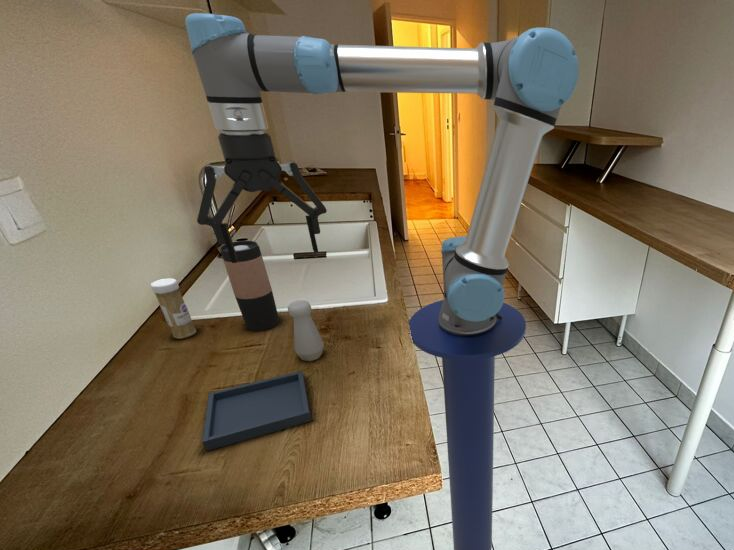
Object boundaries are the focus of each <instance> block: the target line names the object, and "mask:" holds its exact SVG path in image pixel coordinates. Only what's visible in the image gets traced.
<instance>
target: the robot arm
mask: <svg viewBox="0 0 734 550" xmlns="http://www.w3.org/2000/svg"><path fill="white" fill-rule="evenodd" d="M184 23H185V28H186V32H187V36H188V40H189V45H190V52H191V54H192V56H193V59H194V63H195V65H196V68H197V72H198V75H199V78H200V81H201V85H202V87H203V91H204V94H205V98H206V101H207V106H208V109H209V112H210V116H211V118H212V122H213V126H214V128H215V130H217V131H218V132H220V133H219V134H218V136H217V139H218V142H219V145H220V146H219V147H220V149H221V152H222V157H223V158H224V166H223V165H213V164H211V163H207V164H206V165H205V167H204V174H205V180H206V182H205V186H204V190H203V195H202V198H201V202H200V206H199V211H198V216H197V219H196V221H197V224H199V225H200V226H203V225H204V226H209V227H211V228H212V230H213V232H214V235H215V238H216V241H217V243H218V244H219V245H220V246H223V245H225V244H226V246H227V249H228V252H229V255H230V258H231V261H232V263H237V255H236V252H235V248H234V245H233V242H234V241H233V239H232V237H231V233H230V230H229V227H228V223H227V222H224V219H226V216H227V215H228V213H229V211H230V210H231V208H232V206H234V204H235V202H236V201H237V199H238V197H239V196H240V195H241V193H242V191H243V190H244V191H246V192H249V193H256V192H259V191H260V192H270V191H271V190H272V189H273V190H274V189H275V190H276V191H277V192H279V193H281V194H282V195H283V196H285V198H287V199H288V200H289V201H290V202H292V203H293V204H294V205H295V206H297V207H298V208H299V209H301V210H302V211H303V212H304V213H306V214H307V215H305V220H306V225H307V229H308V230H307V231H308V234H309V239H310V242H311V247H312V251H313V253H314V254H316V253H319V248H318V244H317V239H316V235H320V234H321V227H320V222H319V216H320V215H323V214H326V213H327V211H328V209H327V207H326V206H325V204H323V202H322V200H321V199H320V198H319V197H318V196H317V194H316V193H315V191H314V189H312V188H311V186H310V184H309V183H308V182H307V181H306V180H305V178H304V177H303V176H302V174H301V172H300V169H299V166H298V164H297V162H296V161H295V160H290V161H289V162H286V163H285V162H284V163H279V162H278V160H277V157H276V152H275V149H274V144H273V140H272V137H271V135H270V134H269V133H268V132H266V131H267V130H268V129H269V124H268V119H267V115H266V110H265V107H264V103H263V98H262V96H261V92H268V93H269V92H279V93H295V94H296V93H298V94H312V95H322V94H333V93H395V94H397V93H399V94H403V93H405V94H461V95H462V94H469V95H470V94H471V95H472V94H474V95H477V96H479V98H480V99H481V100H489V101H490V100H491V101H494V102H493V109H494V112H495V114H496V116H497V119H498V120H497V124H496V127H495V130H494V135H493V139H492V142H491V146H490V149H489V153H488V158H487V161H486V165H485V168H484V172H483V175H482V179H481V183H480V187H479V190H478V194H477V198H476V200H475V201H476V202H475V205H474V209H473V213H472V216H471V220H470V224H469V227H468V230H467V235H466V236H464V235H463V236H453V237H449V238H446V239H444V240H443V241H442V243H441V250H440V253H441V264H442V280H443V281H442V282H443V299H442V300H443V303H442V306H441V310H440V313H439V317H438V322H439V327H440V329H441V330H442V331H444V332H445V333H447V334H449V335H453V336H457V337H476V336H481V335H484V334H486V333H489V332H490V331H492V330H493V329H494V328H495V326H496V318H498V319H499V320H501V319H502V316H500V315H498V314H497V312H498V311H499V310H500V309H501V307H502V305H503V303H505V288H504V287H503V286H504V282H505V279H506V276H507V272H508V270H509V266H510V261H509V260H508V258H507V256H506V252H507V249H508V246H509V243H510V240H511V238H512V233H513V230H514V227H515V224H516V221H517V218H518V214H519V213H520V212H519V211H520V208H521V205H522V203H523V199H524V195H525V192H526V189H527V186H528V183H529V180H530V177H531V174H532V170H533V168H534V165H535V161H536V158H537V156H538V152H539V148H540V147H541V143H542V140H543V136H544V135H546V134H547V133H548V132H550V131H552V130H553V129H555V127H556V124H557V123H556V122H557V120H558V116H559V114H560V112H561V107H562V106H564V105H565V104H566V103H567V102H568V101H569V99H571V97H572V95H573V94H574V92H575V90H576V87H577V84H578V80H579V74H580V67H579V66H580V65H579V59H578V55H577V53H576V50H575V47H574V46H573V44H572V42H571V41H570V39H569V38H567V36H566V35H565V34H564V33H562V32H560V31H559V30H557V29H554V28H550V27H532V28H529V29H527V30H525V31H524V32H522V33H521V34H520V35H517V36H515V37H513V38H511V39H507V40H503V41H495V42H484V41H483V42H479V44H478V45H477V46H476V47H475V48H473V47H472V48H470V47H469V48H468V47H467V48H466V47H436V46H435V47H434V46H433V47H429V46H399V45H398V46H397V45H367V44H366V45H365V44H364V45H361V44H333V43H330V42H329V41H327V39H324V38H317V37H311V36H307V35H301V36H292V35H291V36H290V35H265V34H264V35H263V34H254V33H248V31H247V29H246V28H245V24H244V22H243V21H242V20H241V19H240V18H238V17H236V16H231V15H225V14H215V13H201V12H195V13H190V14H188V15H187V16H186V17H185V21H184ZM283 172H285V173H286V174H287V175H288V176H290V177H293V178H294V180H295V181H296V183H297V184H298V185H299V187H300V188H301V189H302V190H303V192H304V193H305V194H306V196H307V197H308V198H309V199H310V201H311V202H312V203H313V204H314V206H315V207H312V206H311V205H310V204H308V202H306V201H305V200H304V199H302V198H301V197H300V196H299V195H297V194H296V193H295V192H293V191H292V190H291V189H290V188H289V187H287V185H285V184H284V182H282V181H281V180H280V179H279V178H280V176H281V174H282V173H283ZM222 175H226V176H227V177H228V178H229V179H231V180H232V181H233V182H234V183H233V185H232V186H231V188H230V190H229V191H228V193H227V194H226V196H225V198H224V200H222V202H221V204H220V206H219V208H218V209H217V211H215V214H214V216H210V215H209V213H210V209H211V205H212V201H213V197H214V193H215V188H216V185H217V181H220V180H221V179H222ZM223 222H224V223H223Z"/></svg>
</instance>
